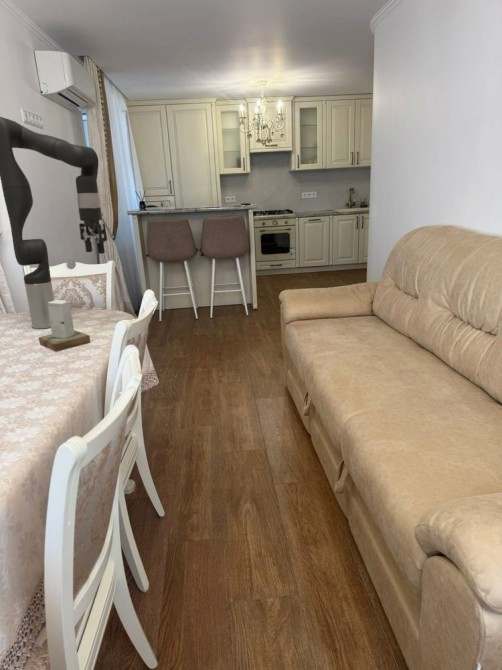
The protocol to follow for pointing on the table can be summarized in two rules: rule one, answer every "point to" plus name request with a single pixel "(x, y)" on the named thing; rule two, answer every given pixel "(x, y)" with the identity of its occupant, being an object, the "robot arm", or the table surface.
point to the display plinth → (64, 341)
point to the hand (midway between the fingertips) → (95, 252)
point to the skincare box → (61, 318)
